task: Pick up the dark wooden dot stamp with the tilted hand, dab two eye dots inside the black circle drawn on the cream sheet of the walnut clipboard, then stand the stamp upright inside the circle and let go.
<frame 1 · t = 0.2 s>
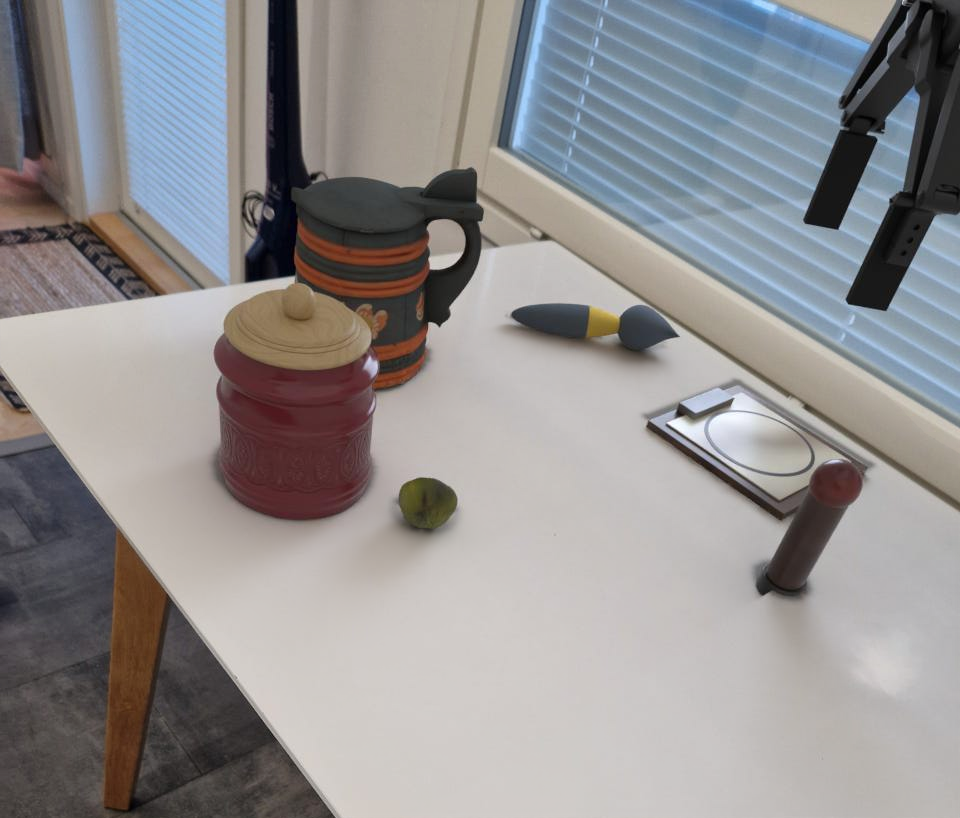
hand: (841, 262, 65), 26 cm above the table, tool pointing down, fingers open, 13 cm apart
clipboard: (755, 450, 96), on the table
paintbrush: (590, 342, 107), on the table
kitchen canister: (296, 478, 80), on the table
lime: (425, 526, 78), on the table
dot stamp: (777, 589, 80), on the table
beer stein: (375, 358, 97), on the table
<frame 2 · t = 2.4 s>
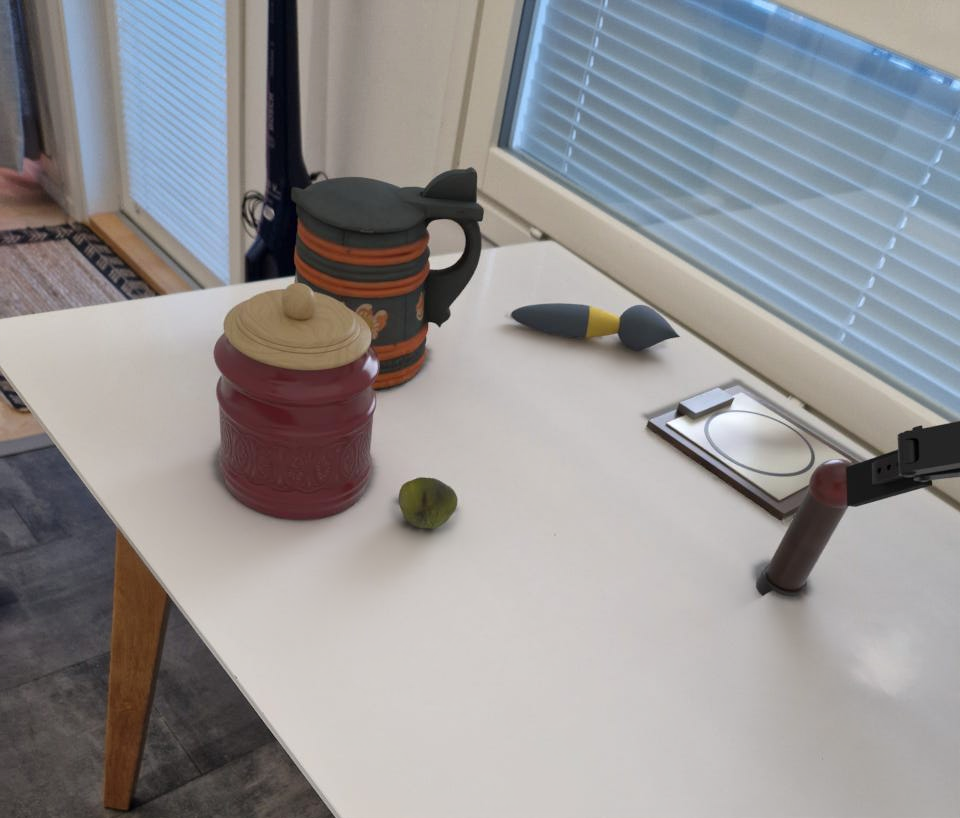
hand: (927, 495, 64), 16 cm above the table, tool tilted 40°, fingers open, 13 cm apart
nothing on the table moved.
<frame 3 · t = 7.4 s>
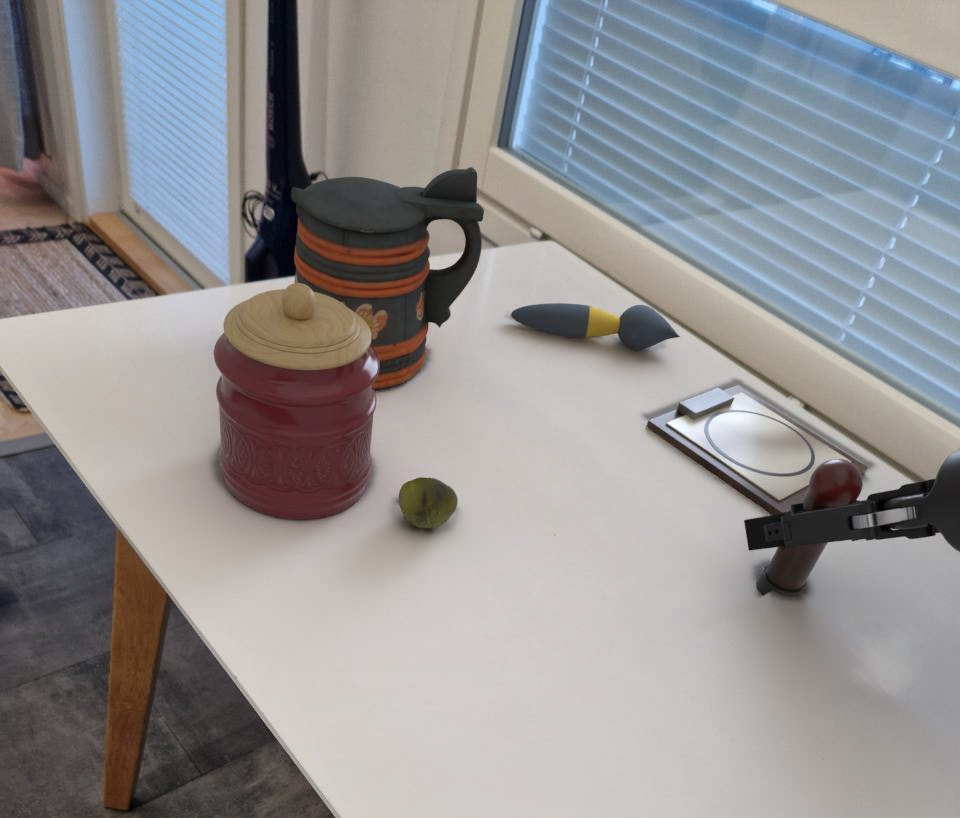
hand: (767, 531, 79), 4 cm above the table, tool tilted 45°, fingers closed on dot stamp, 3 cm apart
dot stamp: (778, 589, 80), on the table, touching gripper
everything else where it was.
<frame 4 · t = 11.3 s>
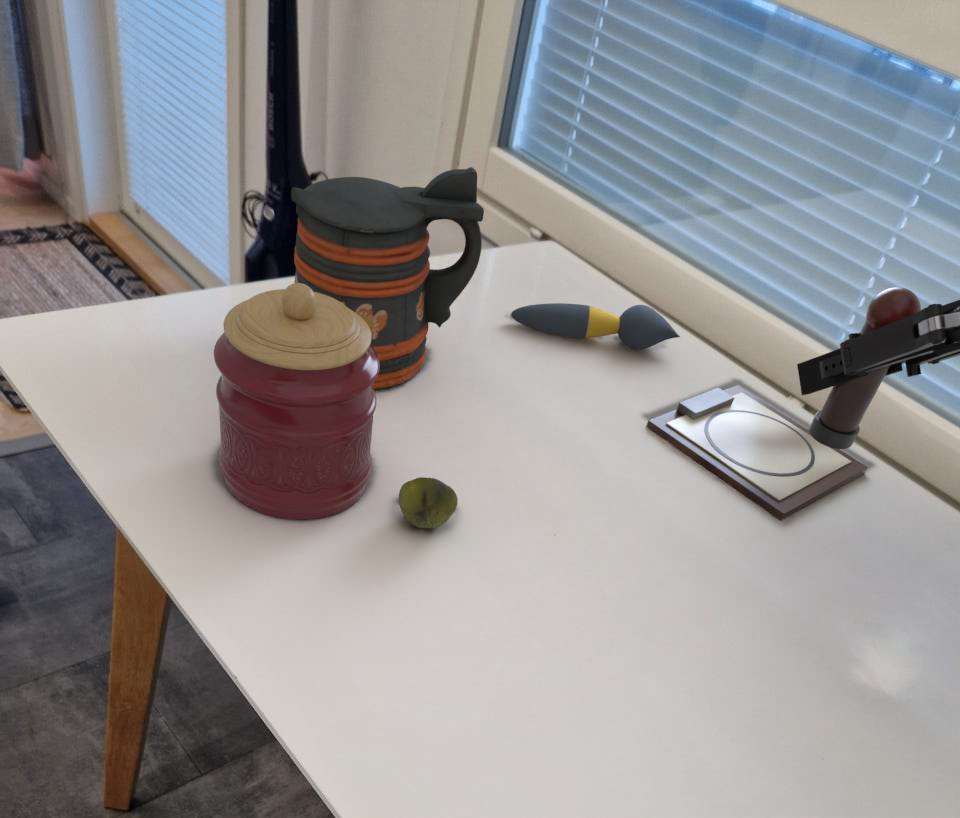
hand: (820, 377, 80), 14 cm above the table, tool tilted 45°, fingers closed on dot stamp, 3 cm apart
dot stamp: (830, 436, 80), point 10 cm above the table, touching gripper
everything else where it was.
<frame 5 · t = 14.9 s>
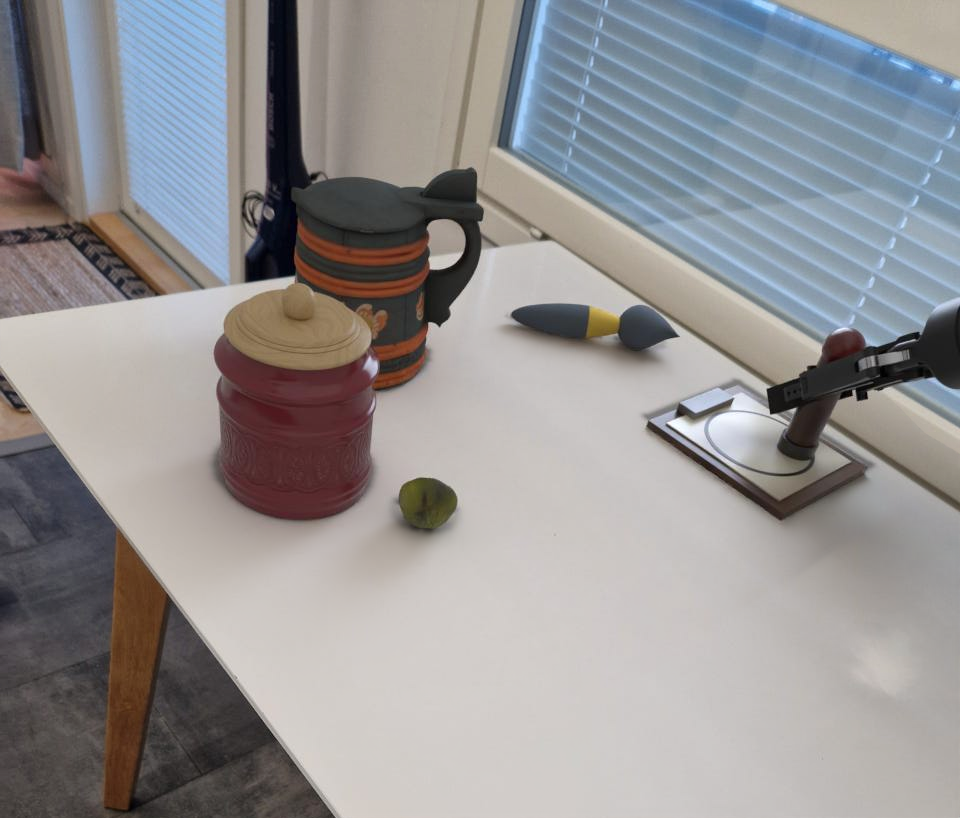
hand: (786, 399, 95), 5 cm above the table, tool tilted 45°, fingers closed on dot stamp, 3 cm apart
dot stamp: (794, 449, 95), point 1 cm above the table, touching clipboard, gripper
everything else where it was.
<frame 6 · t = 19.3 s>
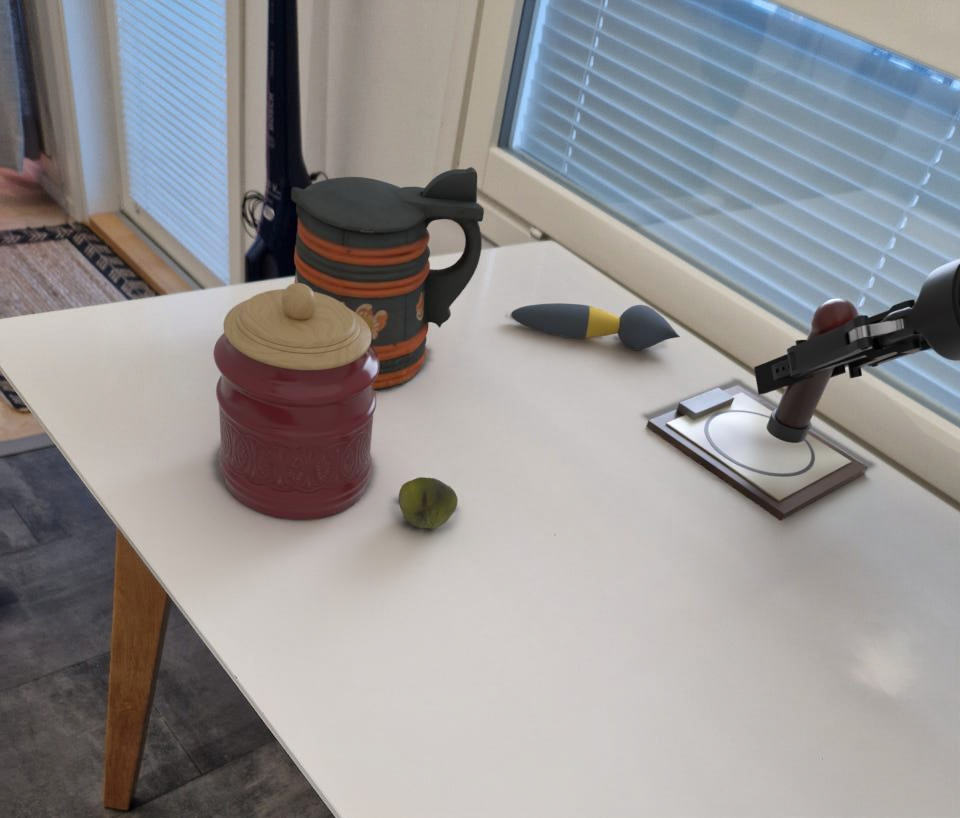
hand: (775, 378, 89), 9 cm above the table, tool tilted 45°, fingers closed on dot stamp, 3 cm apart
dot stamp: (785, 431, 89), point 5 cm above the table, touching gripper
everything else where it was.
when the fingers open (5 cm above the table, at t = 22.7 s): dot stamp stays where it is, resting on clipboard.
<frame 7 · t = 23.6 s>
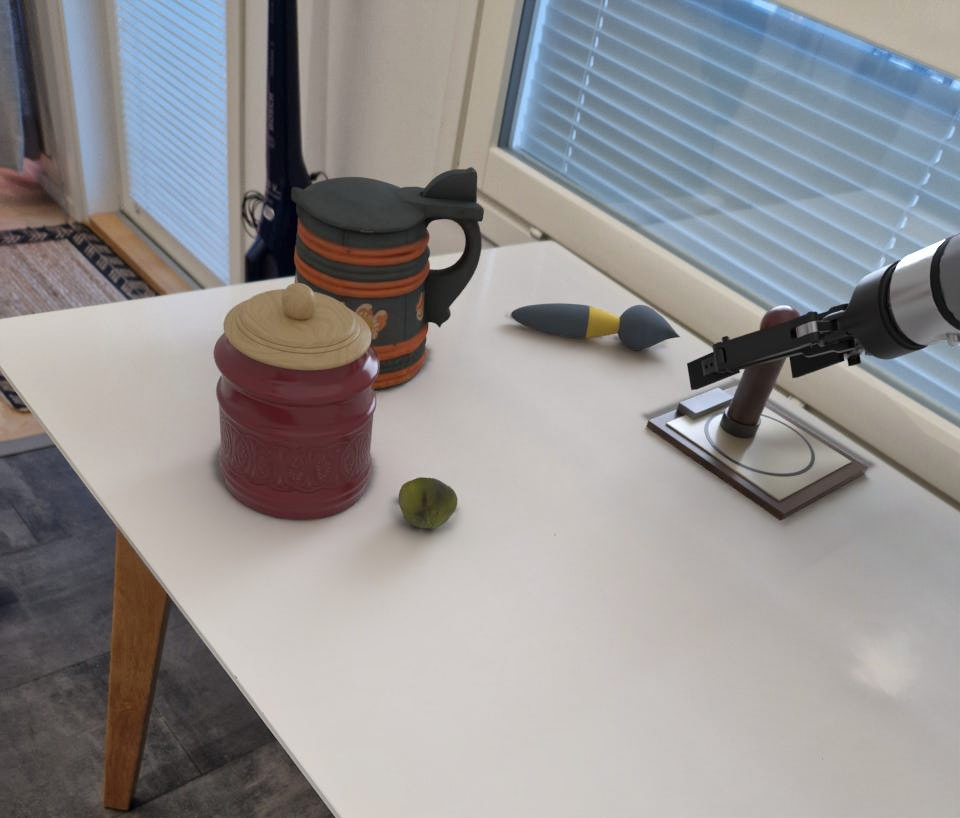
hand: (743, 370, 94), 6 cm above the table, tool tilted 45°, fingers open, 13 cm apart
dot stamp: (737, 427, 96), point 1 cm above the table, touching clipboard
everything else where it was.
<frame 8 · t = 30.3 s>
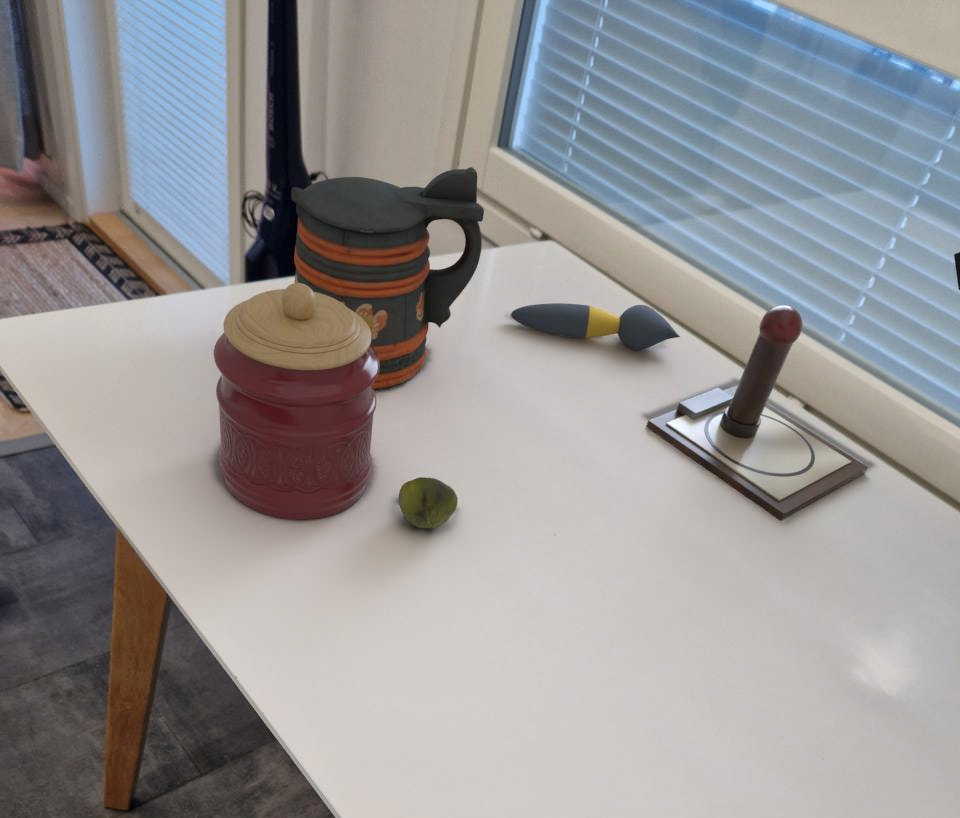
nothing on the table moved.
at the end: dot stamp inside the target area on the clipboard (1.4 cm from its centre), point 1.1 cm above the clipboard's base; dot stamp tilted 0°; the gripper is holding nothing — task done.
